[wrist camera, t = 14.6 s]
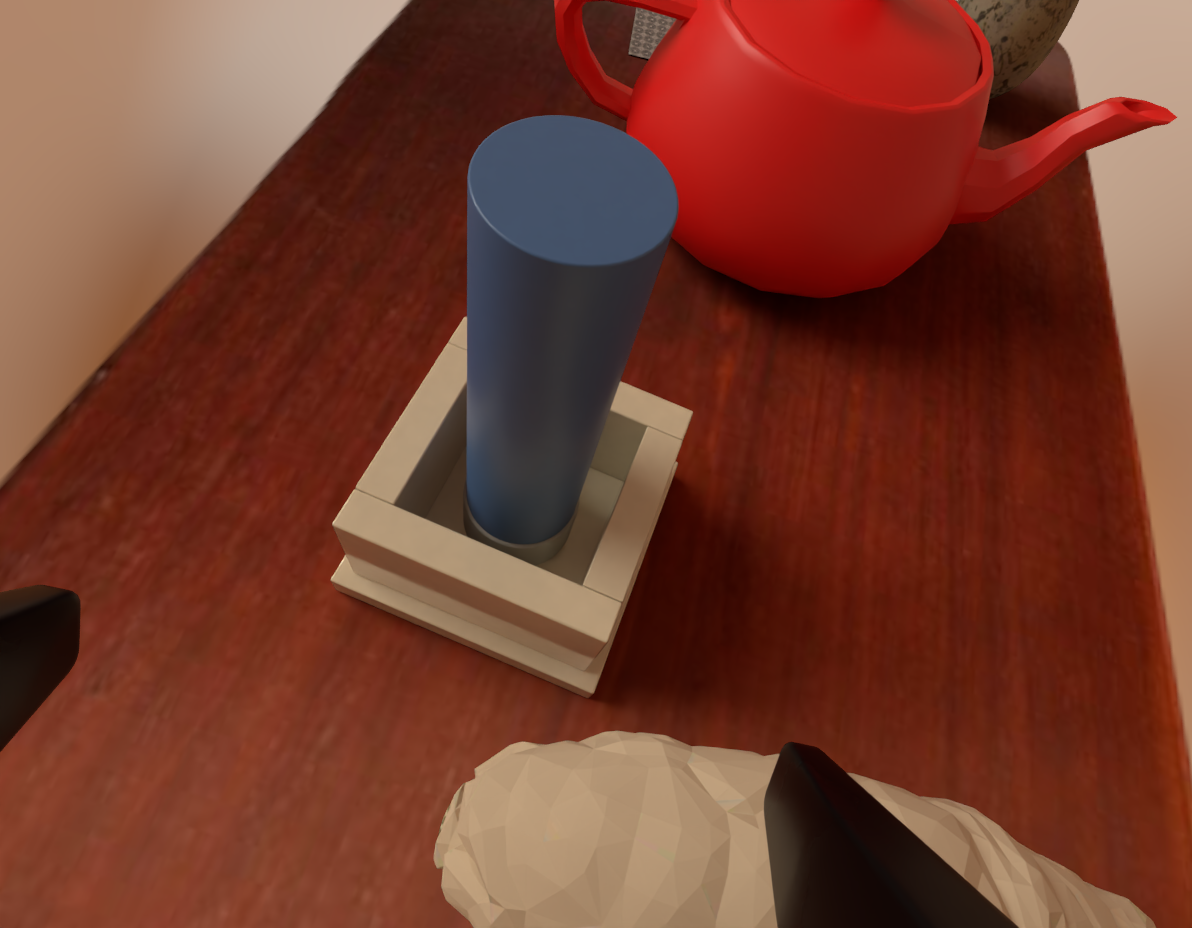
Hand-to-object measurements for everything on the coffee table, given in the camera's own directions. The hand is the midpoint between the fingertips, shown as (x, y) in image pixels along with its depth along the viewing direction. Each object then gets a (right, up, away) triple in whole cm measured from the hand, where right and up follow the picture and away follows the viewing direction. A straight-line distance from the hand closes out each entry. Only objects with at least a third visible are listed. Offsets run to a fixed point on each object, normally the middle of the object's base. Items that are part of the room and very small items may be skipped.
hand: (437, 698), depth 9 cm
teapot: (+11, +15, +26) cm, 32 cm away
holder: (-1, +1, +16) cm, 16 cm away
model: (+6, -10, +12) cm, 17 cm away
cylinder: (-1, +1, +15) cm, 15 cm away
